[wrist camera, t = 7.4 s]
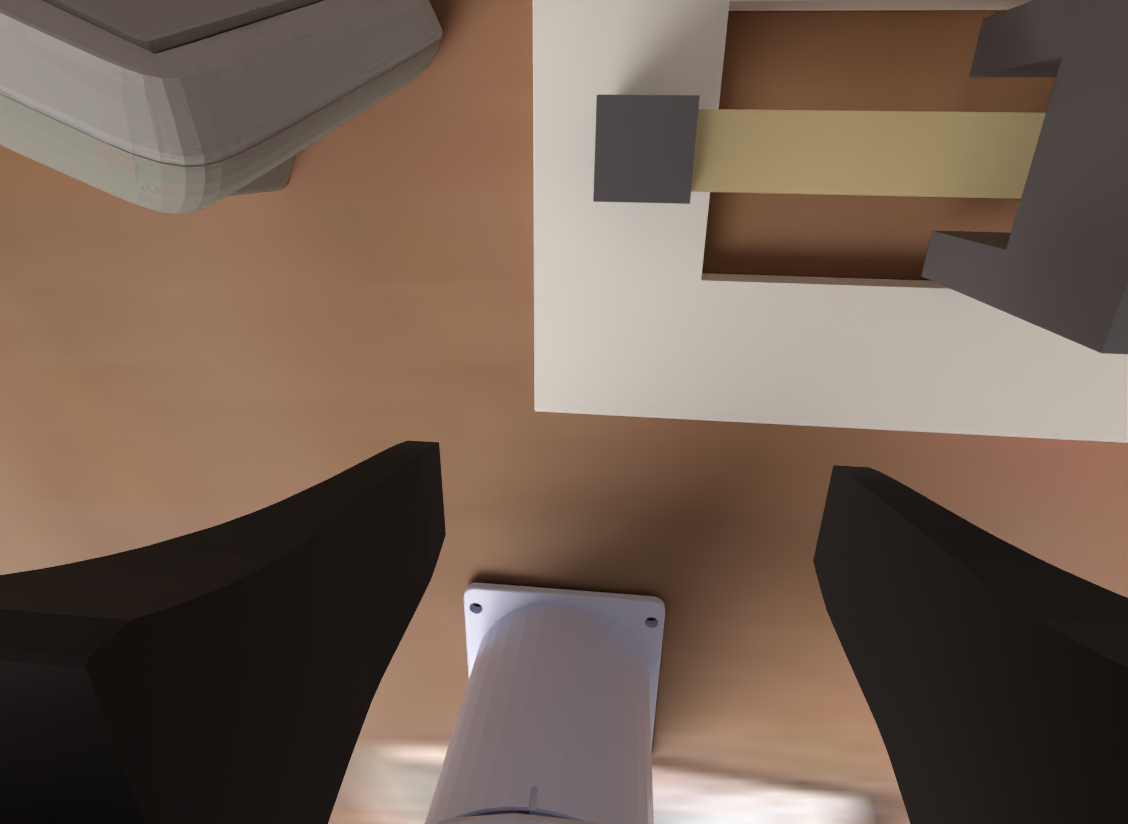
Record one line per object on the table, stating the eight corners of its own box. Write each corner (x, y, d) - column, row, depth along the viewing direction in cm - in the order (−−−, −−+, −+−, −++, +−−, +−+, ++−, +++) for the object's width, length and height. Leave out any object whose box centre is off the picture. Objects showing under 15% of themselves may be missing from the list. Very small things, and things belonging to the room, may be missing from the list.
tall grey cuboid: (1014, 279, 17) (1256, 359, 10) (921, 276, 17) (1101, 353, 10) (1092, 19, 14) (1473, -91, 8) (983, 19, 14) (1265, -88, 8)
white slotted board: (1155, 429, 20) (1367, 541, 14) (539, 397, 21) (506, 486, 16) (1391, -118, 14) (1894, -296, 9) (539, -102, 16) (488, -241, 10)
